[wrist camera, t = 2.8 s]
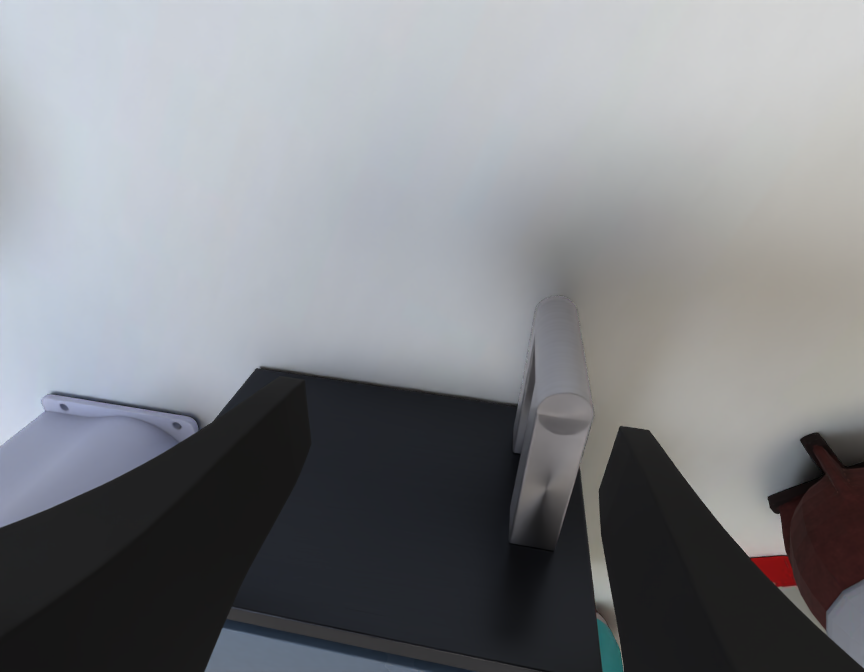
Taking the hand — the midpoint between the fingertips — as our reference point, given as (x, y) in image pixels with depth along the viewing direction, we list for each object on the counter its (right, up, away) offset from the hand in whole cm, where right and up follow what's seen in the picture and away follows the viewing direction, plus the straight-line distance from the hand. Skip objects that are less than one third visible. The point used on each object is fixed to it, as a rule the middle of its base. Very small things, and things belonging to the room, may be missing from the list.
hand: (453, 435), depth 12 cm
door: (-1, +2, +11) cm, 12 cm away
